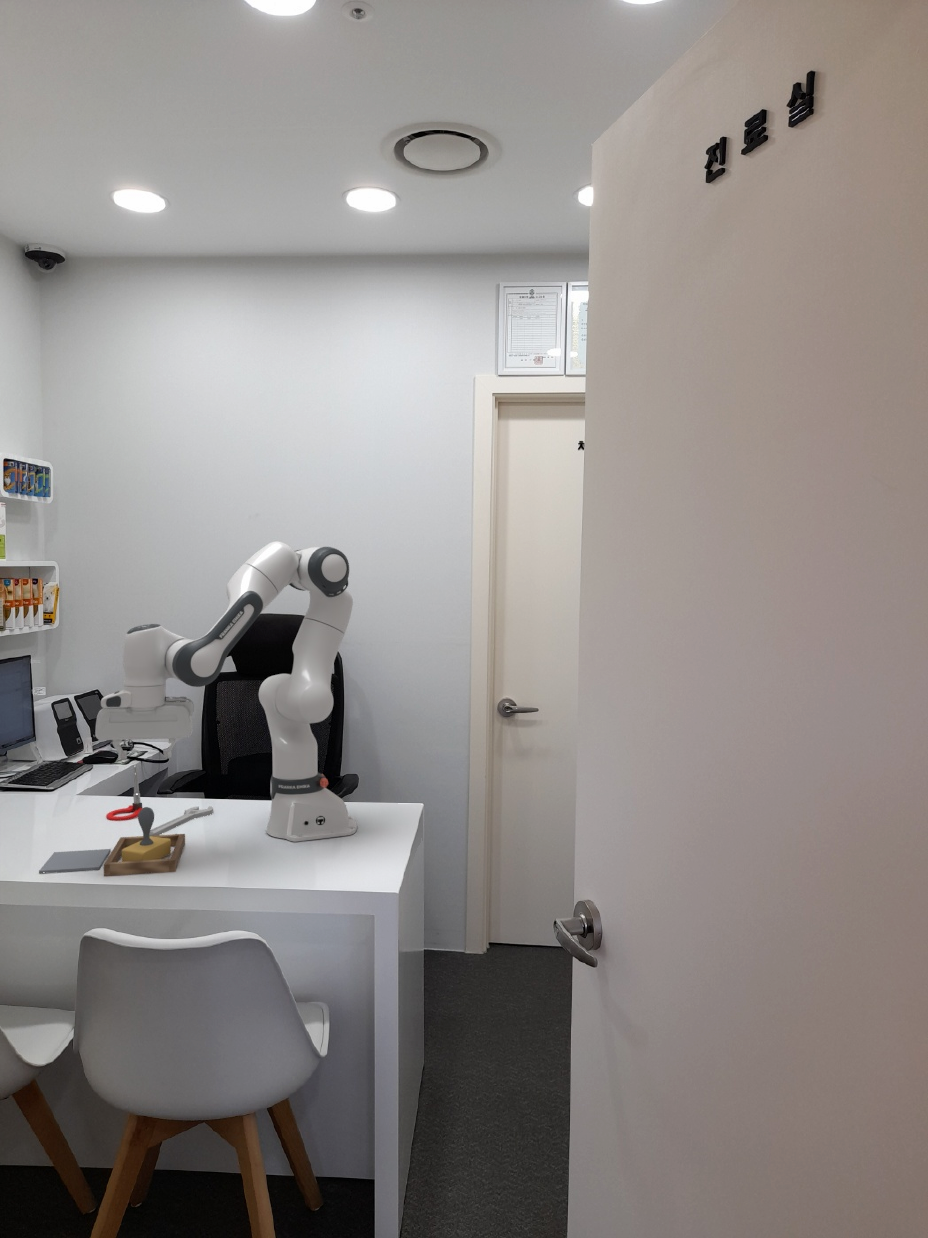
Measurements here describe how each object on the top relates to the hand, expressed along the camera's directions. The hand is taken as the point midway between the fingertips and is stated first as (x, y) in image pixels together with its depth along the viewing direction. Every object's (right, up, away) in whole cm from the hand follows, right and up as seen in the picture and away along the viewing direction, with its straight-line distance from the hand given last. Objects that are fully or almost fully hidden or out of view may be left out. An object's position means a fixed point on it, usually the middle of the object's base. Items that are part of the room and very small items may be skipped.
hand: (145, 758), depth 184 cm
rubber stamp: (0, -23, +1) cm, 23 cm away
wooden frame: (0, -23, +1) cm, 23 cm away
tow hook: (-18, -21, +34) cm, 44 cm away
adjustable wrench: (-3, -22, +28) cm, 36 cm away
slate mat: (-15, -23, -1) cm, 27 cm away
